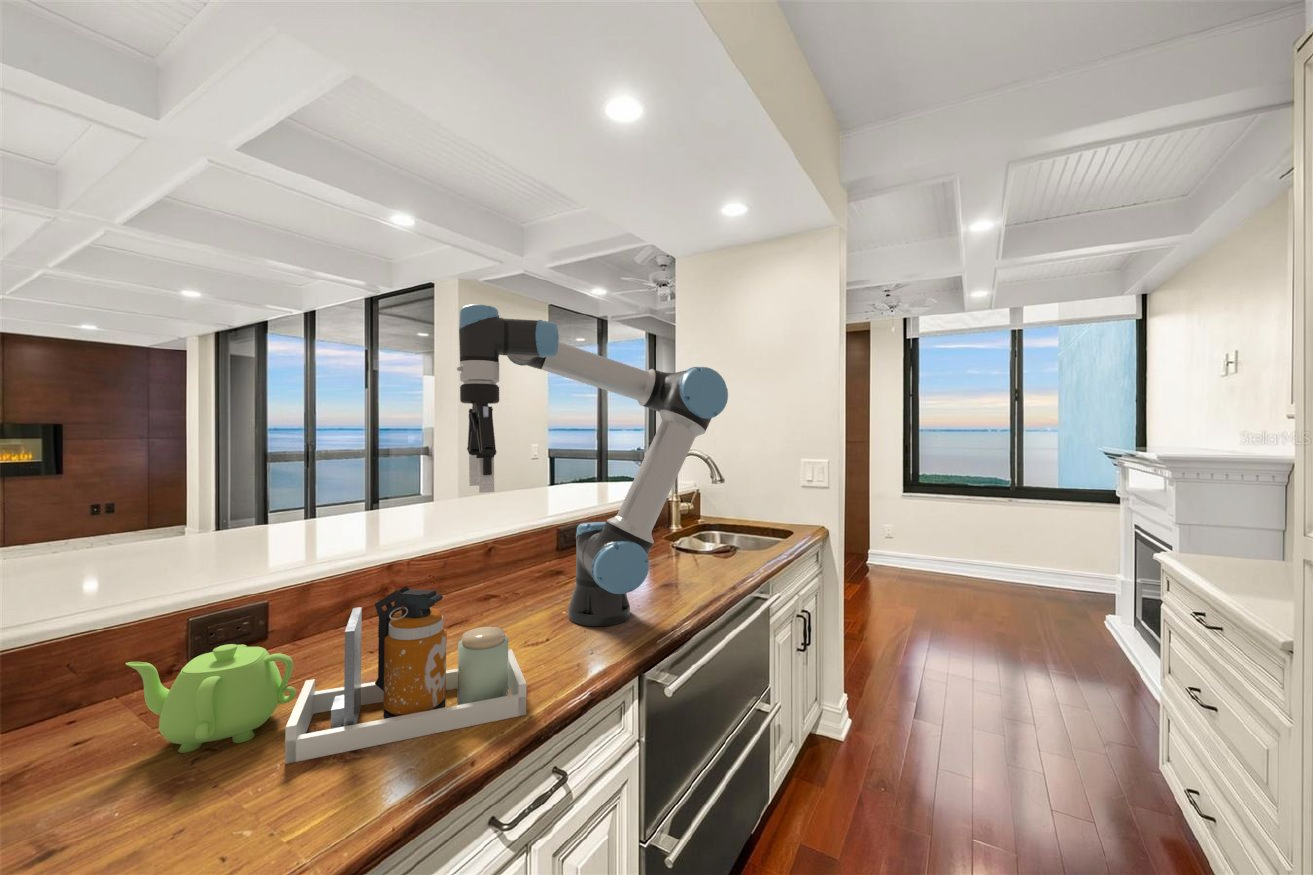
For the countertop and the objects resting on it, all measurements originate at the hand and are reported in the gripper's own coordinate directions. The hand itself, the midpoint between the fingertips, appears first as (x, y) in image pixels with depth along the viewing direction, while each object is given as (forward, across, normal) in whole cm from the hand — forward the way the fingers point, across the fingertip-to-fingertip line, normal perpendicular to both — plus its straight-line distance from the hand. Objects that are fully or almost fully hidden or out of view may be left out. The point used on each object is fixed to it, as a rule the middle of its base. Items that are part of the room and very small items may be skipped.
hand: (481, 488), depth 107 cm
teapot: (+33, +13, -40) cm, 53 cm away
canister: (+33, +19, -14) cm, 41 cm away
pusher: (+33, +19, -23) cm, 44 cm away
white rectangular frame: (+33, +20, -13) cm, 41 cm away
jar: (+33, +20, -3) cm, 39 cm away
